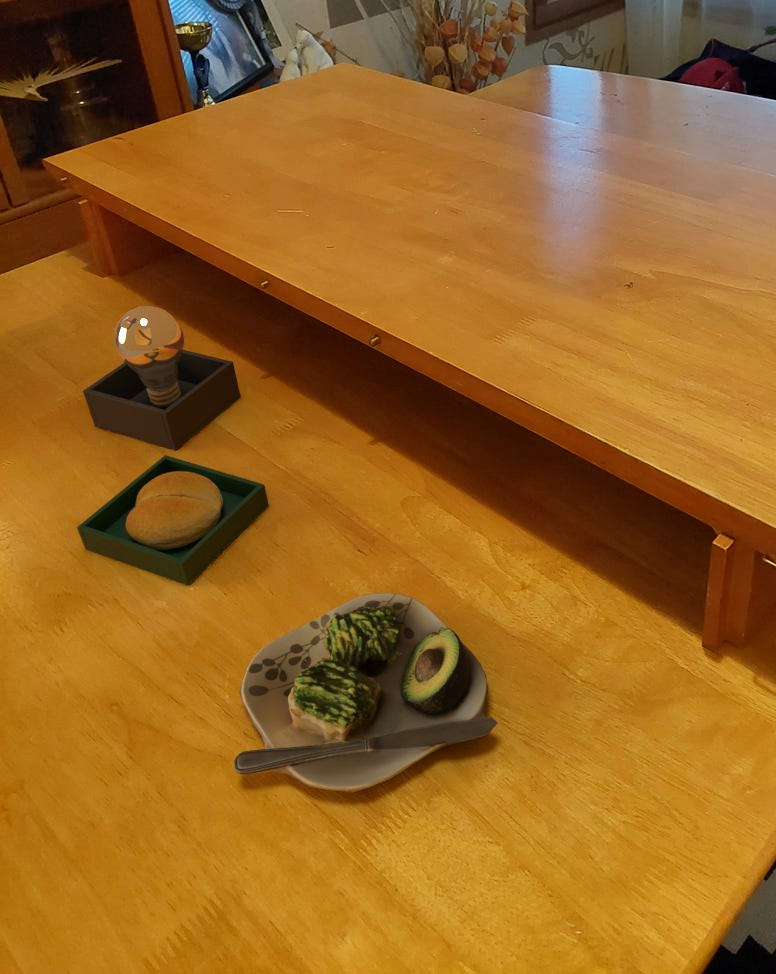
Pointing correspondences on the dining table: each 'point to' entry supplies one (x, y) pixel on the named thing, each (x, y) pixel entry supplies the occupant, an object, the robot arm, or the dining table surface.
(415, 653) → the avocado toast plate
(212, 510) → the bread roll
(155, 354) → the light bulb
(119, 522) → the tray
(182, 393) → the bin
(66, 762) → the dining table surface
